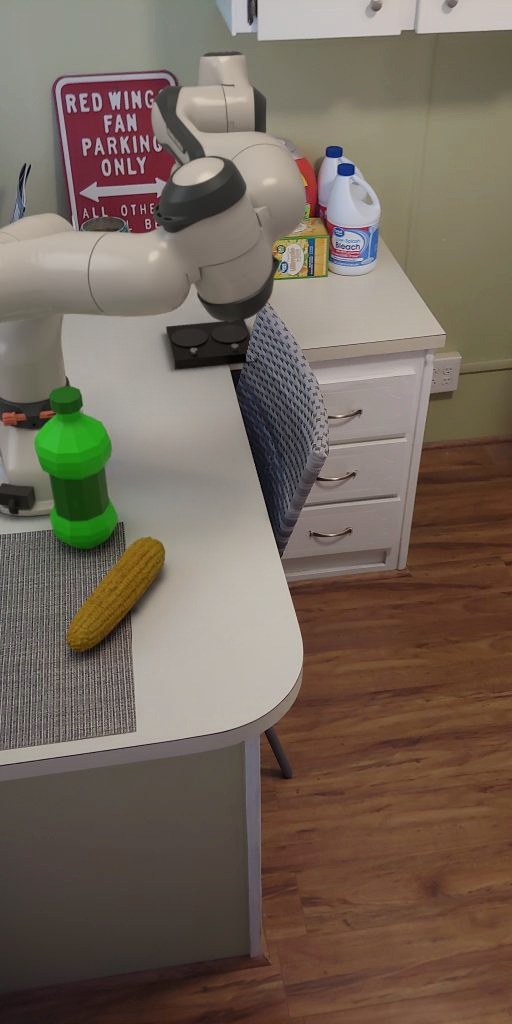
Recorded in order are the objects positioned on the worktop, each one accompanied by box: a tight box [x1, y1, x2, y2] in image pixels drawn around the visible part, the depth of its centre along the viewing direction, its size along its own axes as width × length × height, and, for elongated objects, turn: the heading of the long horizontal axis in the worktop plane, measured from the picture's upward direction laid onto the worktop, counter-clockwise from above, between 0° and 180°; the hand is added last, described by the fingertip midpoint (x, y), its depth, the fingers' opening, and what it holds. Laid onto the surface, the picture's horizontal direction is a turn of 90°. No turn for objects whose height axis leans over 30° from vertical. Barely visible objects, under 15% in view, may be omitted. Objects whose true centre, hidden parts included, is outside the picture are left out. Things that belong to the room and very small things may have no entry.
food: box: [65, 536, 166, 653], centre depth 125 cm, size 21×6×6 cm, turn 156°
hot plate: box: [165, 319, 252, 370], centre depth 183 cm, size 14×16×3 cm
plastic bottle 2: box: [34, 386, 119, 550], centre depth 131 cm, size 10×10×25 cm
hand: (226, 228), depth 171 cm, fingers closed on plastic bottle, 6 cm apart
